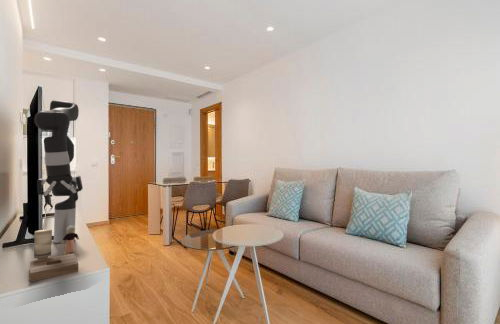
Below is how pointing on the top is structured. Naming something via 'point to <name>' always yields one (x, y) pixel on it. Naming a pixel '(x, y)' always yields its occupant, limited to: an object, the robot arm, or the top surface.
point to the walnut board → (53, 267)
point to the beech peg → (42, 244)
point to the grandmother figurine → (70, 240)
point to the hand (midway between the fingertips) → (62, 202)
